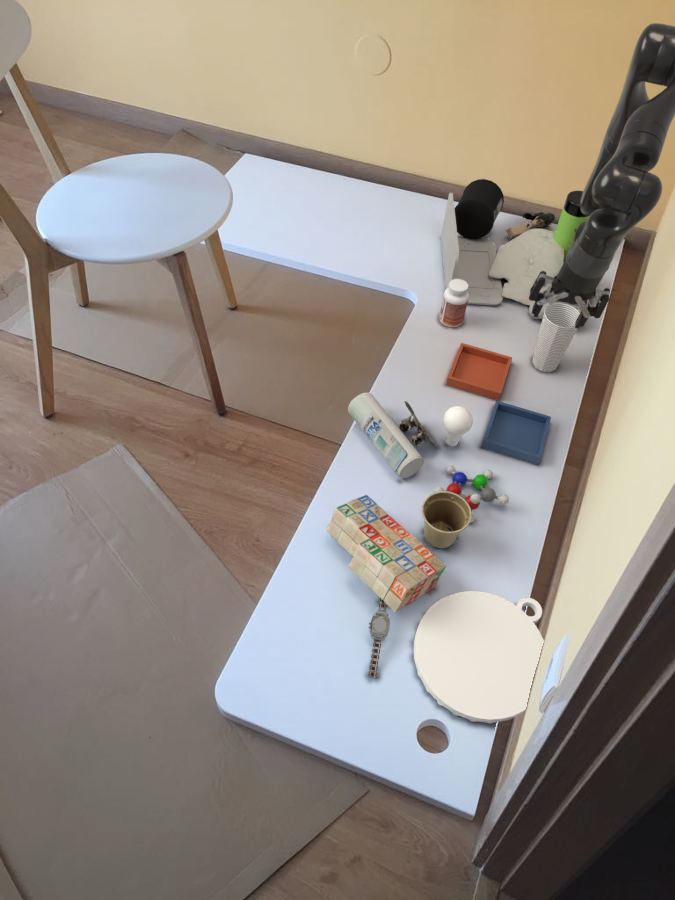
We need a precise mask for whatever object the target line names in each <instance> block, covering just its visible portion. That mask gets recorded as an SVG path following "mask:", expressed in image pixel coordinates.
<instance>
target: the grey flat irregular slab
mask: <svg viewBox="0 0 675 900" xmlns="http://www.w3.org/2000/svg"><path fill="white" fill-rule="evenodd" d="M554 234H555V231H554V230H549V229H546V228H542V229H538V228H533V229H528V230H527V231H526V232H524V233H523V234H521V235H519V236H516V237H513V239H512V238H511V240H509V241H507V242H506V243H504V244H501V246H500V247H499V249H498V251H496V254H497V256H496V259H495V261H494V263H493V264H492V267H491V269H490V271H489V276H491V277H493V278H500V279H504V280H506V281H507V282H504V284H503V286H502V296H503V298H507V299H510V300H513V301H516V302H517V303H520V304H523V305H527V306H529V307H530V306H531V305H532V304H533V303H534V302H535V301H530V300H529V296H530V289H531V287H532V286H533V284H534V282H535V280H536V279H537V277H538V275H539V273H540V272H541V271H545V272H546V275H547V276H550V277H553V278H554V277H555V276H557V275H558V273H559V271H560V269H561V267H562V265H563V263H564V261H563V259H564V249H563V248H562V247H561V246H560V245H558V244H557V243H556V241H555V240H554ZM549 286H552V285H551V284H548V285H547V286H545V287H544V288H543V287H542V288H541V290H540V292H542V291H544V290H546V289H547V288H548V287H549ZM540 292H539V293H540Z"/></svg>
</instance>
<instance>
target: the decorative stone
mask: <svg viewBox="0 0 675 900" xmlns="http://www.w3.org/2000/svg"><path fill="white" fill-rule="evenodd" d="M534 303H535V302H534ZM534 303H533V304H532V305H531V306H530V305H529V307H528V315H530V317H531V318H533V319H535V320H542V319H543V315H544V311H545V308H546V307H547V306H548V305H550V304H552V303H559V301H557V300H556V301H554V302H552V303H549V302H548V303H545V304H543V307H542V309H541V311H540V313H539V315H538V317H537V318H536V317H534V314H532V308H533V305H534ZM561 303H562V302H561ZM572 306H574V307H575V308H576V309H578V310H579V311H580V309H579V307H578V306H575V305H572ZM580 313H581V311H580Z"/></svg>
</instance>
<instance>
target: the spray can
mask: <svg viewBox="0 0 675 900" xmlns="http://www.w3.org/2000/svg"><path fill="white" fill-rule="evenodd" d="M347 412H348V414H349V415H350V416H351V418H352V419H353V420H354V422H355V423H356V424H357V425H358V427H360V429H361V431H363V433H364V434H365V435H366V437H367V438H368V439H369V440H370V442H371V443H372V444H373V446H374V447H375V448H376V450H378V452H379V453H380V455H382V457H383V458H384V460H385V461H386V462H387V463H388V464H389V466H390V467H391V468H392V470H394V472H395V474H396V475H397V476H398V477H399V478H400V479H408V478H410V477H412V476H414V475H415V474H417V472H419V470H420V469H421V468H422V467H423V465H424V463H425V459H424V458H423V456H422V455H421V454H420V452H419V451H418V450H417V449H416V447H415V445H414V444H412V442H411V441H410V440H409V439H408V438H407V436H406V435H405V433H404V432H402V431H401V430H400V429H399V426H398V425H397V423H396V422H395V421H394V420H393V418H392V417H391V416H390V415H389V414H388V412H387V411H386V409H384V407H383V406H382V405H381V403H380V402H379V401H378V400H377V398H376V397H375V396H374V395H373V394H372V393H371V392H368V391H367V392H363V393H359V394H358V395H357V396H355V397H354V398H353V399H352V400H351V401H350V403H349V404H348V407H347Z"/></svg>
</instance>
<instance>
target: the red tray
mask: <svg viewBox="0 0 675 900" xmlns="http://www.w3.org/2000/svg"><path fill="white" fill-rule="evenodd" d="M512 361H513V357H512V356H509V355H506V354H502V353H498V352H495V351H491V350H488V349H485V348H481V347H477V346H474V345H470V344H468V343H464V342H460V345H459V347H458V349H457V353H456V355H455V357H454V360H453V362H452V365H451V368H450V371H449V373H448V375H447V377H446V378H447V379H446V383H445V386H449V387H451V388H455V389H458V390H461V391H463V392H464V391H465V392H468V393H471V394H475V395H478V396H481V397H485V398H488V399H491V400H495V401H496V400H497V401H500V398H501V396H502V392H503V389H504V385H505V382H506V379H507V376H508V373H509V370H510V367H511V364H512Z"/></svg>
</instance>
